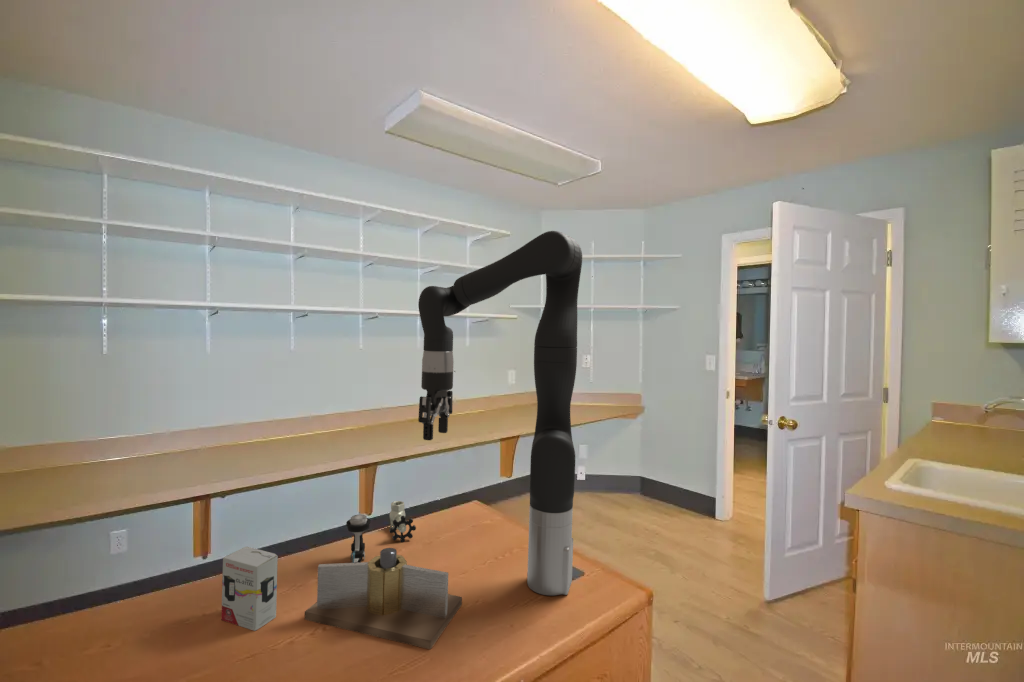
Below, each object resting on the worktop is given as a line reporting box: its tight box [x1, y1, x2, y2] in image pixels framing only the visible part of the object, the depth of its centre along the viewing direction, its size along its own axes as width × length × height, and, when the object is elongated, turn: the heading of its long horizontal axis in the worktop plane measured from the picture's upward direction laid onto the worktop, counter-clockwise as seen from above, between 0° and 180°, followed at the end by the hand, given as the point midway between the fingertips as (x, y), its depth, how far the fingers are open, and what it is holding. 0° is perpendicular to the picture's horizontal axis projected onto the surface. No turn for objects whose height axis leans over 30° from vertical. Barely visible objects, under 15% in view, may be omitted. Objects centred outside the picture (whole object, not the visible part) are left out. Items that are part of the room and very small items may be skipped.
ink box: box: [220, 546, 279, 632], centre depth 88 cm, size 9×5×12 cm, turn 70°
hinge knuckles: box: [316, 554, 449, 618], centre depth 90 cm, size 24×9×8 cm, turn 74°
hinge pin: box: [379, 547, 398, 569], centre depth 91 cm, size 3×3×10 cm
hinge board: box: [304, 593, 463, 650], centre depth 91 cm, size 26×14×2 cm, turn 74°
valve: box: [388, 500, 417, 543], centre depth 126 cm, size 7×7×12 cm
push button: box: [345, 514, 372, 563], centre depth 110 cm, size 7×5×10 cm
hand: (435, 436), depth 116 cm, fingers open, 8 cm apart
